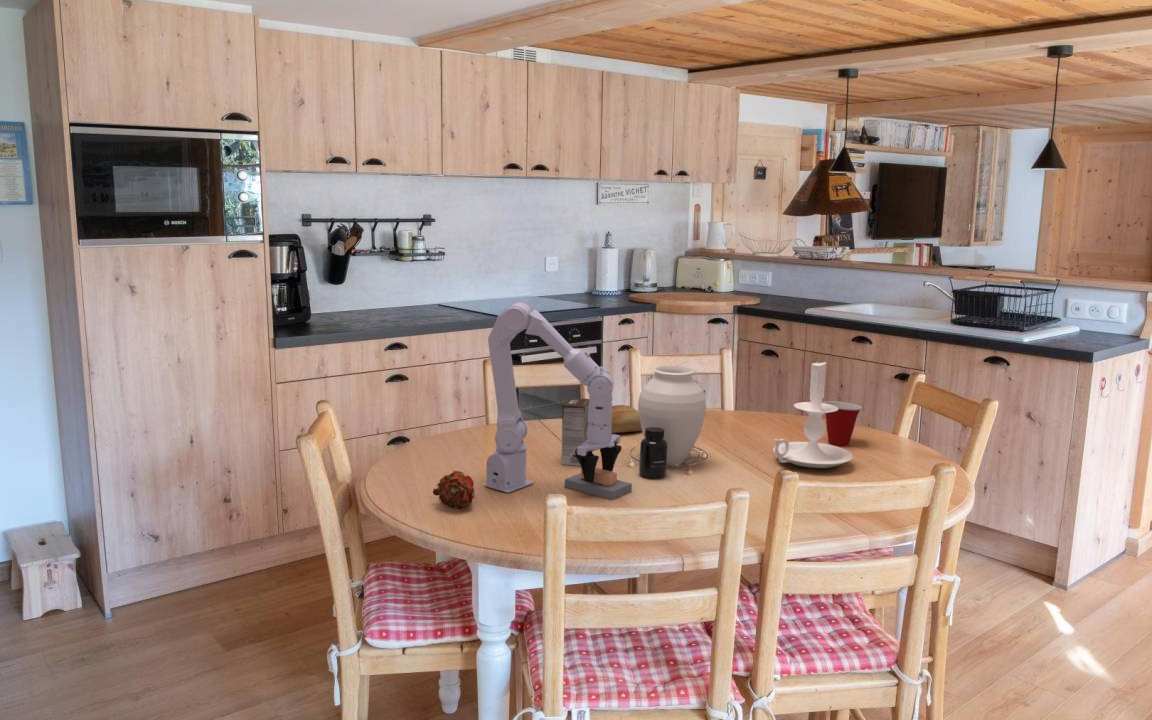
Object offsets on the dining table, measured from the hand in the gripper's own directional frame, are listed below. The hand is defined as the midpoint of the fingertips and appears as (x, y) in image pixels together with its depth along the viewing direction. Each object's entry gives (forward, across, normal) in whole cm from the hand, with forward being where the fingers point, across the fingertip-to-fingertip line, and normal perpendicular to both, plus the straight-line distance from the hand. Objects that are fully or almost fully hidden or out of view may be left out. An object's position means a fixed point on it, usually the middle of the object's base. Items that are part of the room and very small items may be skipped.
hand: (598, 478), depth 212 cm
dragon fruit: (+3, -30, +18) cm, 35 cm away
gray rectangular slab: (+3, 0, 0) cm, 3 cm away
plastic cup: (+3, +79, -29) cm, 84 cm away
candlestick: (+3, +53, -30) cm, 61 cm away
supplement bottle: (+3, +18, -4) cm, 19 cm away
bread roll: (+3, +47, +26) cm, 54 cm away
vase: (+3, +31, -1) cm, 31 cm away
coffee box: (+3, +15, +18) cm, 24 cm away
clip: (+3, 0, 0) cm, 3 cm away
